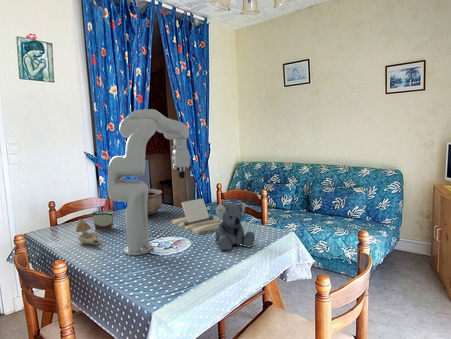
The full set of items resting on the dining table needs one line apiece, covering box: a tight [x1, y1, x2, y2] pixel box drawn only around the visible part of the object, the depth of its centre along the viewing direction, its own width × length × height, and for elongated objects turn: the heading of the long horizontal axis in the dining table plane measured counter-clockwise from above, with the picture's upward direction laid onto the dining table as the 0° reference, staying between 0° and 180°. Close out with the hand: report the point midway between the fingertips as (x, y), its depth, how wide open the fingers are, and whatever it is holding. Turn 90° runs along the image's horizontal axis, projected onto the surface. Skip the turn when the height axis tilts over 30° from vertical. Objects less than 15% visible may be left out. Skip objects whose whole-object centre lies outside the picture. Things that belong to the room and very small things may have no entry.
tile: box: [180, 198, 210, 224], centre depth 179 cm, size 13×14×2 cm
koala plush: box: [214, 202, 256, 251], centre depth 144 cm, size 17×18×20 cm
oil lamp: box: [75, 218, 101, 246], centre depth 151 cm, size 9×21×10 cm, turn 42°
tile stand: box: [169, 215, 223, 235], centre depth 177 cm, size 30×20×4 cm, turn 39°
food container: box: [91, 209, 115, 231], centre depth 174 cm, size 12×6×10 cm, turn 84°
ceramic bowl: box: [126, 188, 163, 216], centre depth 201 cm, size 22×22×15 cm
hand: (181, 178), depth 188 cm, fingers closed
